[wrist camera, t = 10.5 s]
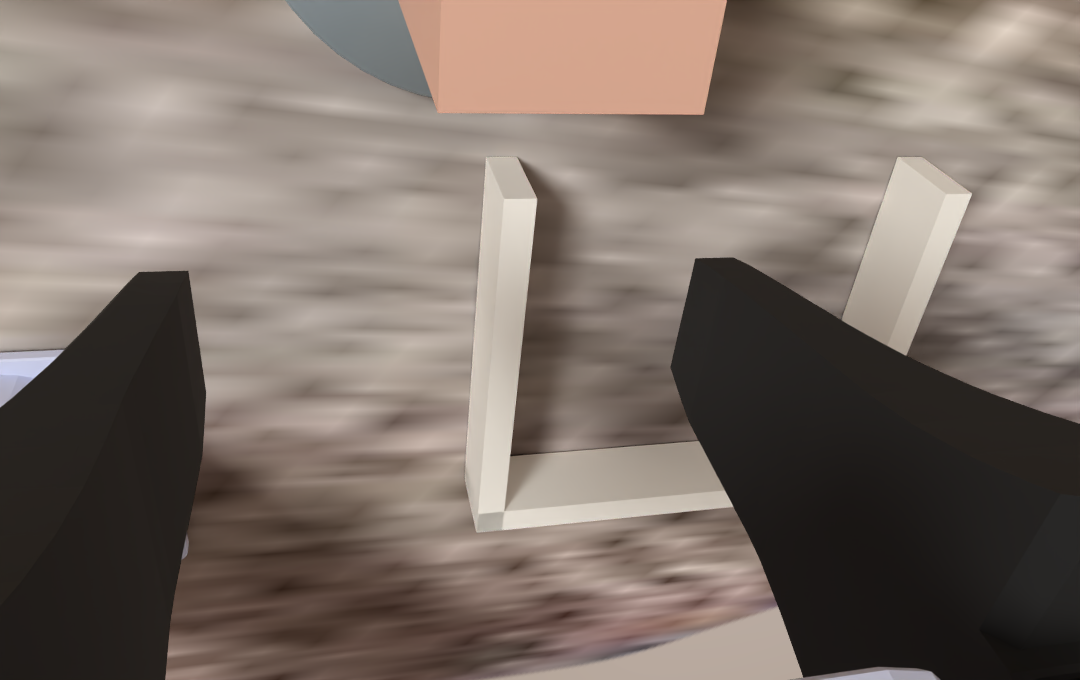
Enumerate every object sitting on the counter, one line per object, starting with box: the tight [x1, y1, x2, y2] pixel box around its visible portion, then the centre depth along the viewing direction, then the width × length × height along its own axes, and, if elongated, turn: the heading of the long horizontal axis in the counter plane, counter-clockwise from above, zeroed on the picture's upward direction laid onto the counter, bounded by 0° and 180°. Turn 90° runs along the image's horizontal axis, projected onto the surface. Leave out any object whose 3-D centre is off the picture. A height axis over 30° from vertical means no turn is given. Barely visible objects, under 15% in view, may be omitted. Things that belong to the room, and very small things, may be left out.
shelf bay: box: [464, 157, 972, 533], centre depth 27 cm, size 13×11×2 cm
